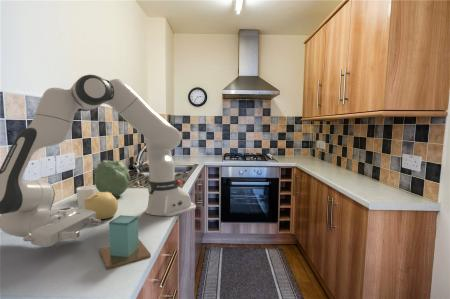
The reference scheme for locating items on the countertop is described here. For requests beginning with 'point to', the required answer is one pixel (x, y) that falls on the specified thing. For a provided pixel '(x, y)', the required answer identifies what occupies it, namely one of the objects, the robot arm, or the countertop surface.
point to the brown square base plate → (119, 260)
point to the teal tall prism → (123, 235)
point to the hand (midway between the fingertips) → (89, 228)
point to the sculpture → (102, 204)
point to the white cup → (84, 194)
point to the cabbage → (111, 177)
